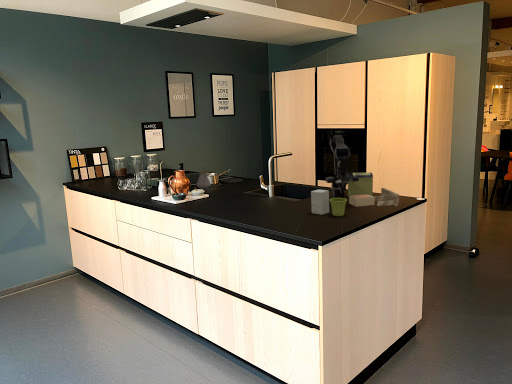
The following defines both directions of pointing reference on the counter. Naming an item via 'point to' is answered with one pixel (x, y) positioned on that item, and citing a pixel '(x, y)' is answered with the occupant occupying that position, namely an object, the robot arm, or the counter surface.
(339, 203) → the plant pot
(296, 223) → the counter surface
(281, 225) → the counter surface
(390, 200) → the display nook
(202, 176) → the coffee pot
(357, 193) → the protein box
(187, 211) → the counter surface
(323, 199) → the supplement box
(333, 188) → the robot arm
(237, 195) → the counter surface
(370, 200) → the beige rectangular block
